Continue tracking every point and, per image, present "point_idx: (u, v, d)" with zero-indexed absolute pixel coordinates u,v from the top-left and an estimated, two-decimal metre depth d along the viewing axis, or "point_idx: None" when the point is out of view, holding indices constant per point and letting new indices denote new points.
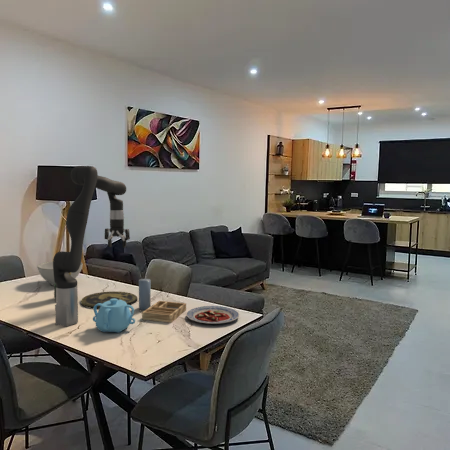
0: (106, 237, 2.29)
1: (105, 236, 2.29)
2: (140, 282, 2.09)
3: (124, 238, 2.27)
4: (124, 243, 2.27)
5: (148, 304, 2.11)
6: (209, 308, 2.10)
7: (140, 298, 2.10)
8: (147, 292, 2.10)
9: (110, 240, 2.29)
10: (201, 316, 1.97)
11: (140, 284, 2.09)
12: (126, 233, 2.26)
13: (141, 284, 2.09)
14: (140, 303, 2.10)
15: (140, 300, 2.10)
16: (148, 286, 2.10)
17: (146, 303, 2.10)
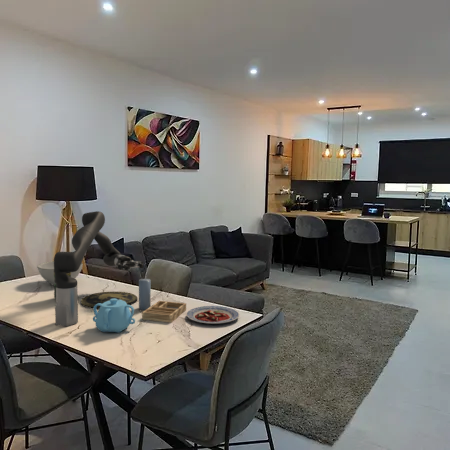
0: (120, 264, 2.20)
1: (119, 264, 2.20)
2: (140, 282, 2.09)
3: (139, 263, 2.27)
4: (141, 264, 2.24)
5: (148, 304, 2.11)
6: (209, 308, 2.10)
7: (140, 298, 2.10)
8: (147, 292, 2.10)
9: None
10: (201, 316, 1.97)
11: (140, 284, 2.09)
12: (139, 261, 2.30)
13: (141, 284, 2.09)
14: (140, 303, 2.10)
15: (140, 300, 2.10)
16: (148, 286, 2.10)
17: (146, 303, 2.10)
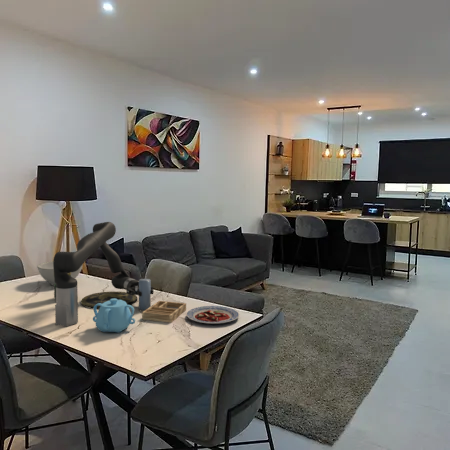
0: (133, 290, 2.11)
1: (131, 290, 2.11)
2: (140, 282, 2.09)
3: None
4: (151, 289, 2.14)
5: (148, 304, 2.11)
6: (209, 308, 2.10)
7: (140, 298, 2.10)
8: (147, 292, 2.10)
9: None
10: (201, 316, 1.97)
11: (140, 284, 2.09)
12: None
13: (141, 284, 2.09)
14: (140, 303, 2.10)
15: (140, 300, 2.10)
16: (148, 286, 2.10)
17: (146, 303, 2.10)
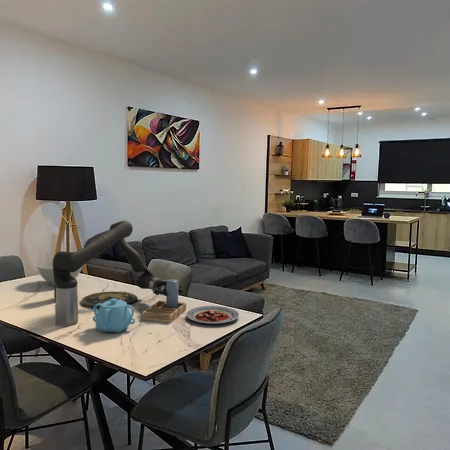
0: (158, 289, 2.05)
1: (157, 289, 2.05)
2: (168, 283, 2.03)
3: None
4: None
5: (176, 305, 2.05)
6: (209, 308, 2.10)
7: (168, 299, 2.04)
8: (175, 293, 2.04)
9: None
10: (201, 316, 1.97)
11: (168, 285, 2.04)
12: None
13: (169, 285, 2.03)
14: (168, 304, 2.05)
15: (167, 301, 2.05)
16: (176, 287, 2.04)
17: (174, 305, 2.04)
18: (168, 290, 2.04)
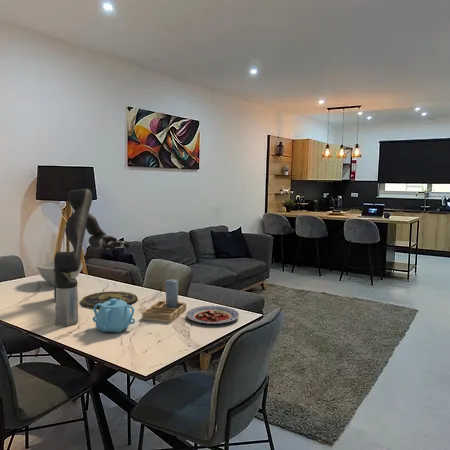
0: (105, 243, 2.11)
1: (104, 243, 2.11)
2: (168, 283, 2.04)
3: (125, 243, 2.18)
4: None
5: (176, 305, 2.05)
6: (209, 308, 2.10)
7: (168, 299, 2.04)
8: (175, 293, 2.04)
9: None
10: (201, 316, 1.97)
11: (168, 285, 2.04)
12: (125, 241, 2.21)
13: (168, 285, 2.03)
14: (168, 304, 2.05)
15: (167, 301, 2.05)
16: (176, 287, 2.04)
17: (174, 305, 2.04)
18: (168, 290, 2.04)
